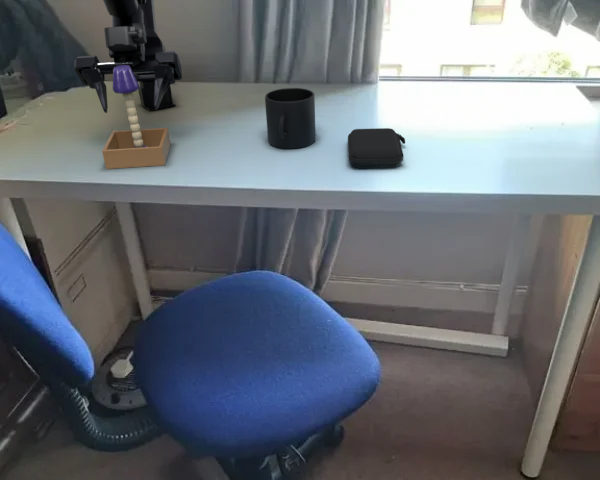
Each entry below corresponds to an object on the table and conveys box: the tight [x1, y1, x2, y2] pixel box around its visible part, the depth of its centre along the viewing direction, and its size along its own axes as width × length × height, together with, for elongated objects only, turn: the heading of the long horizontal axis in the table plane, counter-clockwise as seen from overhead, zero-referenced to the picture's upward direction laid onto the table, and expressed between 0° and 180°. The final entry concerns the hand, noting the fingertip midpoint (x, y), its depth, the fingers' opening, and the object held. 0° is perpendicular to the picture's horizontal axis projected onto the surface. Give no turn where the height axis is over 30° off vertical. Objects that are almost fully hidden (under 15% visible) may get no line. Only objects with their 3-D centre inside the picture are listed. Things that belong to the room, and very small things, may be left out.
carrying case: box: [347, 127, 406, 169], centre depth 115 cm, size 11×3×15 cm
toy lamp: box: [112, 65, 147, 148], centre depth 115 cm, size 5×5×17 cm
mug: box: [264, 87, 317, 150], centre depth 120 cm, size 9×12×9 cm
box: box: [101, 127, 172, 170], centre depth 119 cm, size 11×11×4 cm
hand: (130, 110), depth 114 cm, fingers open, 9 cm apart
